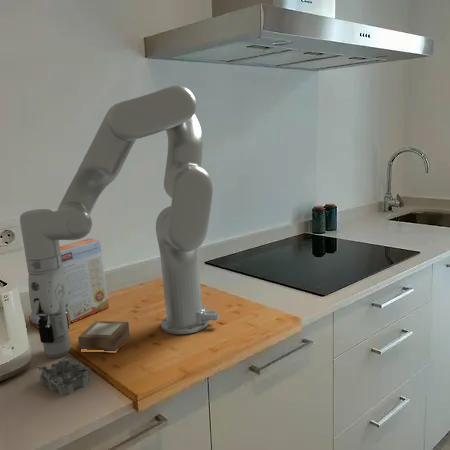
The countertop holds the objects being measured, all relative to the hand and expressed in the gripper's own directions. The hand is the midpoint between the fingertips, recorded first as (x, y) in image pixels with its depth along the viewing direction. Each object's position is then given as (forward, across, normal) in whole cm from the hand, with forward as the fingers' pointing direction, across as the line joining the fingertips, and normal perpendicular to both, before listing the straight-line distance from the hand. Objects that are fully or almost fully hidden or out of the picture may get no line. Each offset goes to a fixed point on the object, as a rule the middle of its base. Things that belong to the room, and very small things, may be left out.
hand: (55, 335), depth 113 cm
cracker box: (+5, +23, +5) cm, 24 cm away
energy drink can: (+5, 0, 0) cm, 5 cm away
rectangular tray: (+5, +5, -10) cm, 12 cm away
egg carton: (+5, -12, -9) cm, 16 cm away
